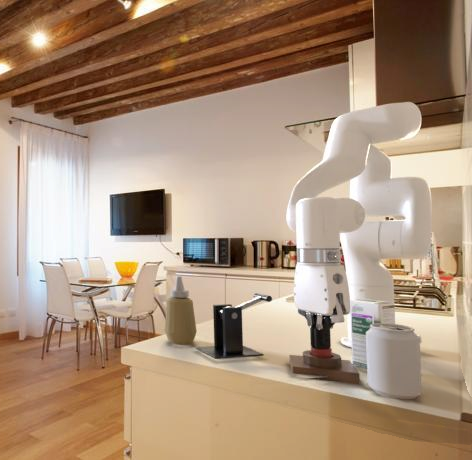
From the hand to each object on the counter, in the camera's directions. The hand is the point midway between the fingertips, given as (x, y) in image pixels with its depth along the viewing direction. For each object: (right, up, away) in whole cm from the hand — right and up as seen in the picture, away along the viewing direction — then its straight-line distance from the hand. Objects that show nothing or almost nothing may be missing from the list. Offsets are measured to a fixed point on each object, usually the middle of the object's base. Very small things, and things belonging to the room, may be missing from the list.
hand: (320, 347), depth 84 cm
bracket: (-13, -6, +14) cm, 20 cm away
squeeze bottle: (-21, -7, +25) cm, 33 cm away
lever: (-8, +5, +15) cm, 18 cm away
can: (+6, -5, -11) cm, 13 cm away
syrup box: (+12, -6, +2) cm, 14 cm away
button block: (0, -6, 0) cm, 6 cm away
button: (0, -2, 0) cm, 2 cm away
